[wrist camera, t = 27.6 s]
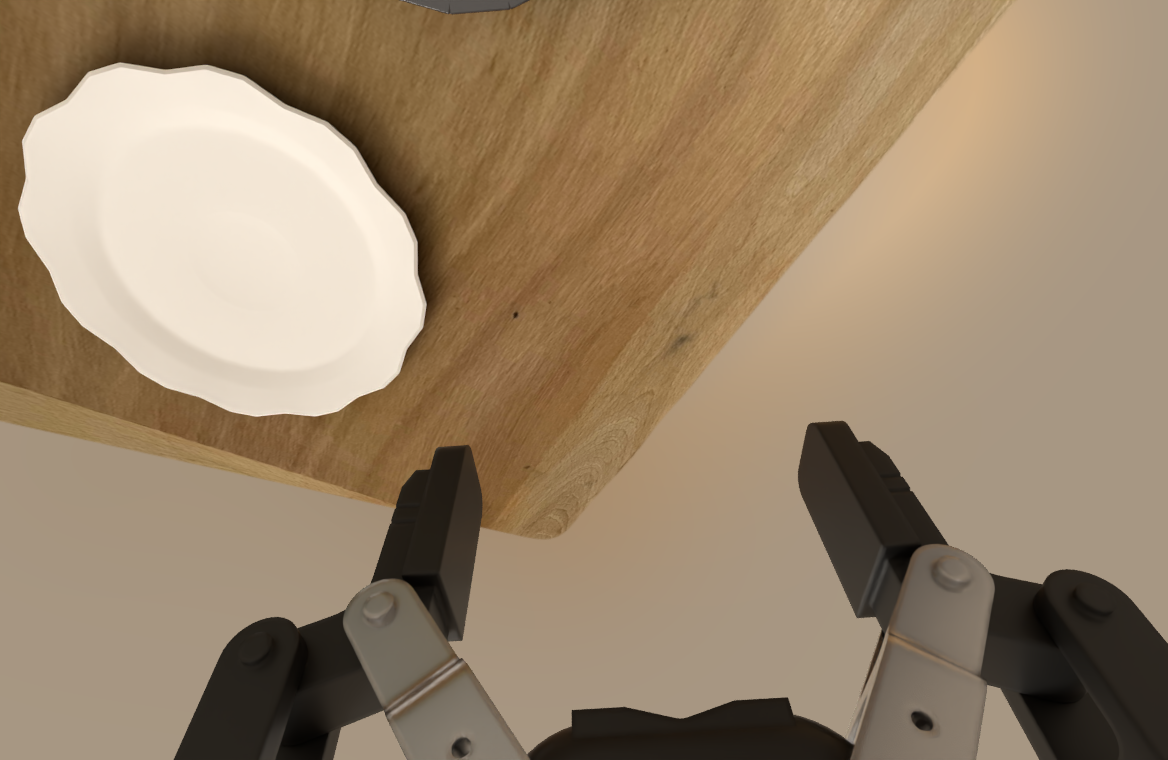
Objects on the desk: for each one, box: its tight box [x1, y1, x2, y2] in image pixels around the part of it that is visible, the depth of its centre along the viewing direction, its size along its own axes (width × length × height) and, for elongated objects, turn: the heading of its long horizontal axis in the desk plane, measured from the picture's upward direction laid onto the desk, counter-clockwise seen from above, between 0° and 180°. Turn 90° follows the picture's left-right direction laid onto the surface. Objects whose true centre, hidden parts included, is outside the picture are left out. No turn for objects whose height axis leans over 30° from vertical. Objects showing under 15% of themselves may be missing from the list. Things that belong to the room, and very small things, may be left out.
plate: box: [18, 62, 427, 416], centre depth 40 cm, size 25×25×2 cm
